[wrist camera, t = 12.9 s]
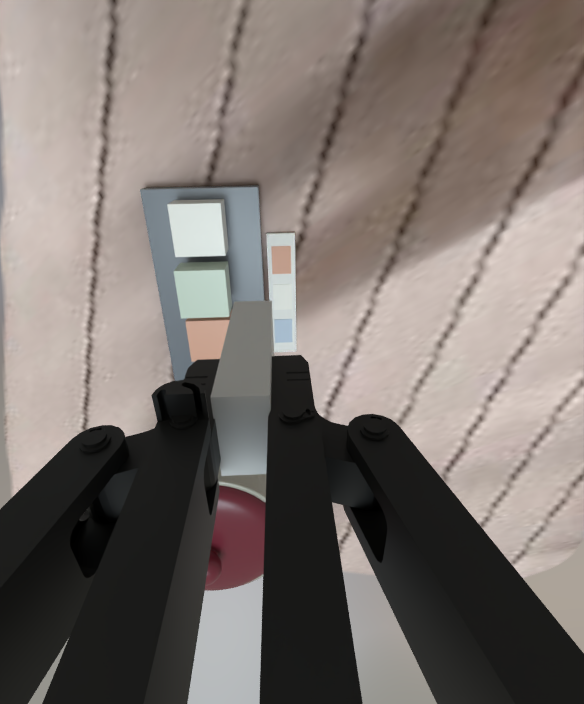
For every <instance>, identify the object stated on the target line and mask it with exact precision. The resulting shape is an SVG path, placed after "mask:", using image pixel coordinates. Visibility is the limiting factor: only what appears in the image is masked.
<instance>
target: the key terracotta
mask: <svg viewBox="0 0 584 704" xmlns="http://www.w3.org/2000/svg"><path fill="white" fill-rule="evenodd" d="M231 313H232V309H231V312H230V316H229V317H212V318H187V319H186V321H185V322H186V329H187V335H188V342H189V348H190V355H191V361H192V362H195V361H196V360H203V359H220V357H221V353H222V349H223V345H224V341H225V337H226V333H227V329H228V325H229V321H230V317H231Z"/></svg>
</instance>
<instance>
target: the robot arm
mask: <svg viewBox="0 0 584 704" xmlns="http://www.w3.org/2000/svg"><path fill="white" fill-rule="evenodd" d="M152 399H153V403H154V408H155V412H156V416H157V421H158V422H157V424H156V427H155V428H154V429H152V430H149V431H146V432H143V433H140V434H135V435H131V436H127V437H125V435H124V432H123V431H122V430H121V429H120V428H119V427H115V426H112V425H102V426H98V427H93V428H90V429H88V430H86V431H83V432H81V433H79V434H78V435H77V436H76V437H74V438H73V439H72V440H71V441H69V442H68V443H67V444H66V445H65V446H64V447H63V448H62V449H61V450H60V451H59V452H58V453H57V454H56V455H55V456H54V457H53V458H52V459H51V460H50V461H49V462H48V463H47V464H46V465H45V466H44V467H43V468H42V469H41V470H40V471H39V472H38V473H37V474H36V475H35V476H34V477H33V478H32V479H31V480H30V481H29V482H28V483H27V484H26V485H25V486H24V487H23V488H21V489H20V490H19V491H18V492H17V493H16V494H15V495H14V496H13V497H12V498H11V499H10V500H9V501H8V502H7V503H6V504H5V505H4V506H3V507H2V508H1V509H0V704H28V702H29V701H30V699H31V698H32V696H33V694H34V693H35V691H36V690H37V688H38V686H39V685H40V683H41V681H42V680H43V678H44V677H45V675H46V674H47V672H48V670H49V669H50V667H51V665H52V664H53V662H54V661H55V659H56V658H57V656H58V654H59V653H60V651H61V649H62V648H63V646H64V645H65V643H66V641H67V639H68V638H69V640H68V642H67V645H66V647H65V649H64V652H63V654H62V657H61V659H60V662H59V664H58V667H57V669H56V671H55V674H54V676H53V679H52V681H51V684H50V686H49V689H48V691H47V694H46V696H45V699H44V701H43V703H42V704H187V701H188V695H189V688H190V681H191V674H192V668H193V661H194V655H195V649H196V642H197V636H198V629H199V623H200V616H201V610H202V603H203V596H204V590H205V583H206V577H207V570H208V564H209V557H210V551H211V544H212V538H213V531H214V525H215V518H216V511H217V505H218V498H219V492H220V490H219V481H218V473H219V467H220V468H221V475H222V476H232V475H257V474H266V504H265V538H264V572H263V606H262V642H261V675H260V704H362V697H361V691H360V684H359V678H358V671H357V665H356V658H355V652H354V645H353V638H352V632H351V625H350V619H349V612H348V605H347V599H346V592H345V585H344V579H343V572H342V566H341V559H340V553H339V546H338V539H337V533H336V526H335V520H334V513H333V507H332V502H333V503H338V504H342V505H343V507H344V510H345V513H346V515H347V517H348V519H349V521H350V523H351V525H352V527H353V529H354V531H355V533H356V535H357V538H358V540H359V542H360V544H361V546H362V548H363V550H364V552H365V554H366V556H367V558H368V560H369V563H370V565H371V567H372V569H373V571H374V573H375V575H376V577H377V579H378V581H379V583H380V585H381V587H382V590H383V592H384V594H385V596H386V598H387V600H388V602H389V604H390V606H391V608H392V610H393V613H394V615H395V616H396V619H397V621H398V623H399V625H400V627H401V629H402V631H403V633H404V635H405V637H406V639H407V642H408V644H409V646H410V648H411V650H412V652H413V654H414V656H415V658H416V660H417V662H418V664H419V667H420V669H421V671H422V673H423V675H424V677H425V679H426V681H427V683H428V685H429V687H430V690H431V692H432V694H433V696H434V698H435V700H436V702H437V704H584V653H583V652H582V651H581V650H580V649H579V647H578V646H577V645H576V644H575V642H574V641H573V640H572V639H571V637H570V636H569V635H568V634H567V632H565V630H564V629H563V628H562V626H561V625H560V624H559V623H558V621H557V620H556V619H555V618H554V617H553V615H552V614H551V613H550V612H549V610H548V609H547V608H546V607H545V605H544V604H543V603H542V602H541V600H540V599H539V598H538V597H537V596H536V595H535V593H534V592H533V591H532V589H531V588H530V587H529V586H528V585H527V583H526V582H525V581H524V580H523V578H522V577H521V576H520V575H519V573H518V572H517V571H516V570H515V568H514V567H513V566H512V565H511V563H510V562H509V561H508V560H507V559H506V557H505V556H504V555H503V554H502V552H501V551H500V550H499V549H498V547H497V546H496V545H495V544H494V543H493V541H492V540H491V539H490V538H489V536H488V535H487V534H486V533H485V531H484V530H483V529H482V528H481V527H480V525H479V524H478V523H477V522H476V520H475V519H474V518H473V517H472V515H471V514H470V513H469V512H468V511H467V509H466V508H465V507H464V506H463V504H462V503H461V502H460V501H459V499H458V498H457V497H456V496H455V495H454V493H453V492H452V491H451V490H450V488H449V487H448V486H447V485H446V483H445V482H444V481H443V480H442V478H441V477H440V476H439V475H438V474H437V472H436V471H435V470H434V469H433V467H432V466H431V465H430V464H429V462H428V461H427V460H426V459H425V458H424V456H423V455H422V454H421V453H420V451H419V450H418V449H417V448H416V446H415V445H414V444H413V443H412V442H411V440H410V439H409V438H408V437H407V435H406V434H405V433H404V432H403V430H402V429H401V428H400V427H399V426H398V425H397V424H396V423H395V422H394V421H393V420H391V419H389V418H386V417H384V416H381V415H375V414H366V415H361V416H358V417H355V418H354V419H353V420H352V421H351V422H349V425H348V426H346V425H340V424H336V423H332V422H330V421H328V420H325V419H324V418H322V417H321V416H320V415H319V414H318V413H317V411H316V409H315V406H314V399H313V392H312V385H311V378H310V372H309V365H308V362H307V361H306V360H305V359H304V358H303V357H302V356H301V355H291V356H274V339H273V317H272V301H238V302H234V304H233V309H232V313H231V317H230V321H229V325H228V329H227V333H226V337H225V341H224V345H223V349H222V353H221V357H220V359H203V360H196V361H195V362H194V363H193V364H192V365H191V366H190V367H188V369H187V372H186V375H185V379H184V380H179V381H173V382H170V383H167V384H164V385H162V386H161V387H159V388H158V389H156V390H155V392H154V393H153V394H152ZM84 512H85V513H84Z"/></svg>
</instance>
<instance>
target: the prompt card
mask: <svg viewBox="0 0 584 704" xmlns="http://www.w3.org/2000/svg"><path fill="white" fill-rule="evenodd" d="M266 236H267V258H268V279H269V301H272V317H273V339H274V352H293V351H296V280H295V232H287V233H266Z"/></svg>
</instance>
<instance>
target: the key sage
mask: <svg viewBox="0 0 584 704" xmlns="http://www.w3.org/2000/svg"><path fill="white" fill-rule="evenodd" d="M174 278H175V284H176V290H177V296H178V303H179V309H180V315H181V318H212V317H229V316H230V312H231V308H232V299H231V288H230V278H229V267H228V261H225V262H189V263H180V264H179V265H178V266H177V268H176V269H175V270H174Z"/></svg>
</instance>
